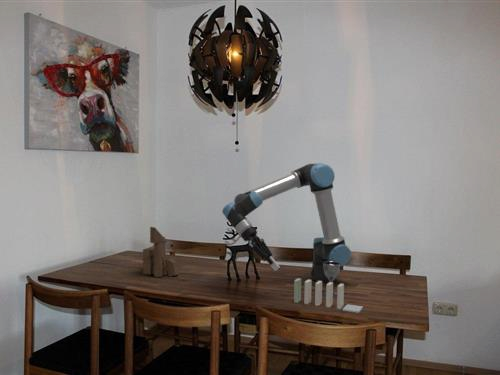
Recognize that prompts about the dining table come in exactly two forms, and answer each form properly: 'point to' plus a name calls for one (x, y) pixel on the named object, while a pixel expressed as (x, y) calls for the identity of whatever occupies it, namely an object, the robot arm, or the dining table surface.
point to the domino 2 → (308, 291)
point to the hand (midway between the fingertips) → (277, 269)
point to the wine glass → (331, 271)
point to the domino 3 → (318, 293)
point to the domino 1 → (297, 290)
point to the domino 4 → (329, 294)
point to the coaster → (352, 308)
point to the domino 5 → (340, 296)
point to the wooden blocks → (158, 257)
